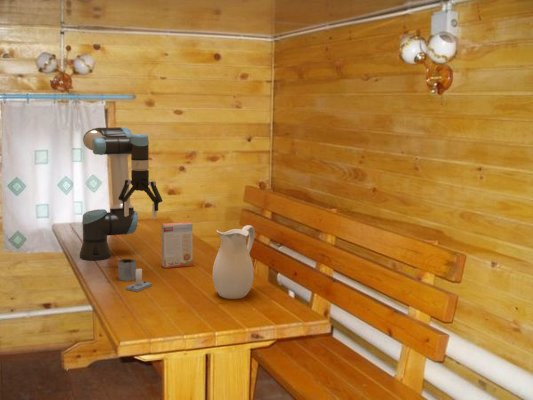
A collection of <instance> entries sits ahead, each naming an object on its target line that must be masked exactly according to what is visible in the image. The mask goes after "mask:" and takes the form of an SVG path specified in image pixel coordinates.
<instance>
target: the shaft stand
mask: <svg viewBox="0 0 533 400" xmlns="http://www.w3.org/2000/svg"><path fill="white" fill-rule="evenodd" d="M152 286H153V283H152V282H147V281H146V280H145V281H143V269H142V268H136V279H135V283H132V284H129V285H127V286H125V290H126V291H130V290H131V291H130V292H136V293H137V292H140V291H142V290H146V289H147V288H150V287H152Z"/></svg>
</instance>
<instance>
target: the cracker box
mask: <svg viewBox="0 0 533 400" xmlns="http://www.w3.org/2000/svg"><path fill="white" fill-rule="evenodd" d="M160 227H161V228H160V229H161V230H160V231H161V233H160V234H161V236H160V237H161V267H163V268H164V269H171V268H172V269H173V268H183V267H193V264H194V263H193V261H194V260H193V259H194V255H193V252H194V251H193V250H194V249H193V245H194V244H193V223H192V222H190V221H180V222H167V223H166V222H162V223H161V225H160Z"/></svg>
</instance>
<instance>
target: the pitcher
mask: <svg viewBox="0 0 533 400" xmlns="http://www.w3.org/2000/svg"><path fill="white" fill-rule="evenodd" d="M216 233H218V235H219V237H220V245H219V249H218V251H217V254H216V257H215V258H214V262H213V266H212V283H213V286H214V288H215V290H216V293H218V295H219V296H220V297H221V298H224V299H228V300H237V299H243V298H245V297H246V296H247V295H248V294H249V292H250V290H251V289H252V286H253V284H254V283H253V282H254V278H255V277H254V275H255V269H254V264H253V260H252V259H251V256H250V255H251V254H250V253H251V250H252V247H253V244H254V242H255V236H256V235H255V234H256V231H255V227H254V226H252V225H250V224H249V225H248V224H247V225H244V226H243V227H242V228H241V229H240V228H233V229H230V230H227V231H224V232H221V231H219V230H218V229H217V230H216ZM247 239H248V240H247Z"/></svg>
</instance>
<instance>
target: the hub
mask: <svg viewBox="0 0 533 400" xmlns="http://www.w3.org/2000/svg"><path fill="white" fill-rule="evenodd" d="M117 264H118V266H117V267H118V268H117V269H118V272H117V273H118V280H119V281H123V282H130V281H131V282H132V281H134V280H135V281H136V269H137V261H136V259H134V258H122V259H119V260H118V263H117Z"/></svg>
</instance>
